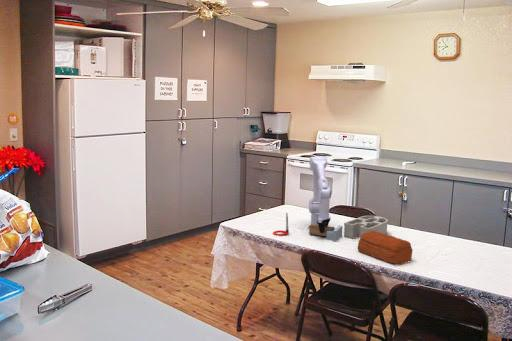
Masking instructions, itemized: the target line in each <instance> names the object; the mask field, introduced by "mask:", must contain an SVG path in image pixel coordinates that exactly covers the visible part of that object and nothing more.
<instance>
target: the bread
mask: <svg viewBox="0 0 512 341" xmlns="http://www.w3.org/2000/svg"><path fill="white" fill-rule="evenodd" d="M357 251H358V252H360V253H361V254H364V255H367V256H370V257H373V258H375V257H376V258H375V259H378V258H379V259H378V260H380V261H383V260H384V261H383V262H386V261H387V262H386V263H389V262H390V263H389V264H391V263H394V264H393V265H395V264H401V265H403V264H402V263H404V262H407V263H409V262H408V261H411V262H412V259H413V258H412V257H413V248H412V244H411V242H409V241H408V240H405V239H402V238H399V237H395V236H393V235H390V234H387V233H386V234H383V233H380V232H377V231H370V232H367V233H363V234H362V235H361V238H360V237H359V240H358V243H357ZM404 264H405V263H404Z"/></svg>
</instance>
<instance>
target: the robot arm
mask: <svg viewBox="0 0 512 341" xmlns="http://www.w3.org/2000/svg"><path fill="white" fill-rule="evenodd" d="M327 165H328V158H327V156H310V158H309V171H312V181H313V182H312V183H313V184H312V186H313V187H312V192H313V197H312V198H311V199H310V200H309V201H308V212H309V214H310V225H311V224H316V225H318V226H319V230H320V233H324V230H325V226H329V223H330V221H331V218H332V216H330V200H331V198H332V190H331V187H329V180H328V178H326V172H325V169H326V167H327ZM308 229H309V226H308Z"/></svg>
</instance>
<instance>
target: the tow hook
mask: <svg viewBox="0 0 512 341" xmlns="http://www.w3.org/2000/svg"><path fill="white" fill-rule="evenodd" d="M272 234H273V235H274V236H277V235H278V237H279V236H289V234H290V231H289V216H288V212H285V230H283V229H282V230H281V229H280V230H274V231H273V232H272Z"/></svg>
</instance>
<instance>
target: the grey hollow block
mask: <svg viewBox="0 0 512 341" xmlns="http://www.w3.org/2000/svg"><path fill="white" fill-rule="evenodd" d="M388 221H389V220H388V219H387V218H385V217H382V216H378V215H377V216H376V215H363V216H360V217H359V216H358V217H357V218H354V219H351V220H348V221H345V222H343V226H344V228H343V229H344V231H343V236H344V238H347V239H355V238H357V237H358V238H359V239H360V238H361V235H362V234H363V233H367V232H370V231H377V232H380V233H383V234H386V235H387V233H388V223H389V222H388Z"/></svg>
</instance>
